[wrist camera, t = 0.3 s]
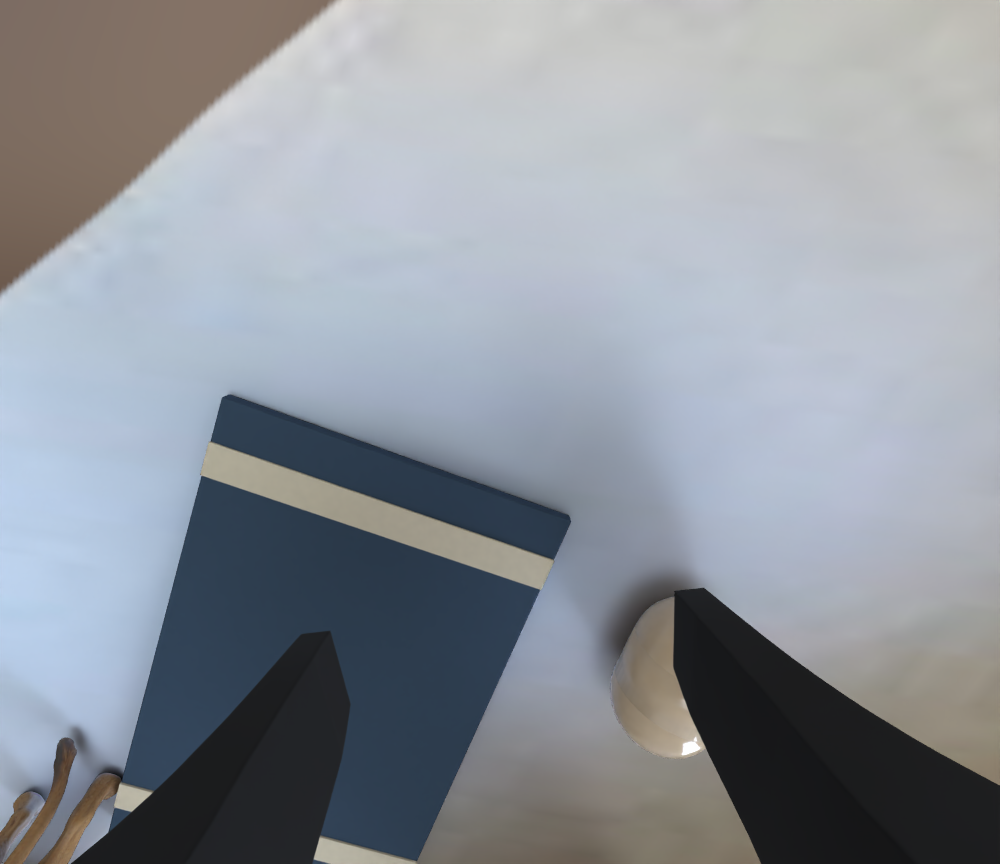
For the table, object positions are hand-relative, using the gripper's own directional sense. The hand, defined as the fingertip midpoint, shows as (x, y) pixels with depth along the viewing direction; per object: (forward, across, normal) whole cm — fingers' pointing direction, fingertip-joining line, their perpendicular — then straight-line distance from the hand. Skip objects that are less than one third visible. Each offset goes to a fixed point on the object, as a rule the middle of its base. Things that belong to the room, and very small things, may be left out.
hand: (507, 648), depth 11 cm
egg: (+9, -6, +9) cm, 14 cm away
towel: (+9, +8, +9) cm, 16 cm away
